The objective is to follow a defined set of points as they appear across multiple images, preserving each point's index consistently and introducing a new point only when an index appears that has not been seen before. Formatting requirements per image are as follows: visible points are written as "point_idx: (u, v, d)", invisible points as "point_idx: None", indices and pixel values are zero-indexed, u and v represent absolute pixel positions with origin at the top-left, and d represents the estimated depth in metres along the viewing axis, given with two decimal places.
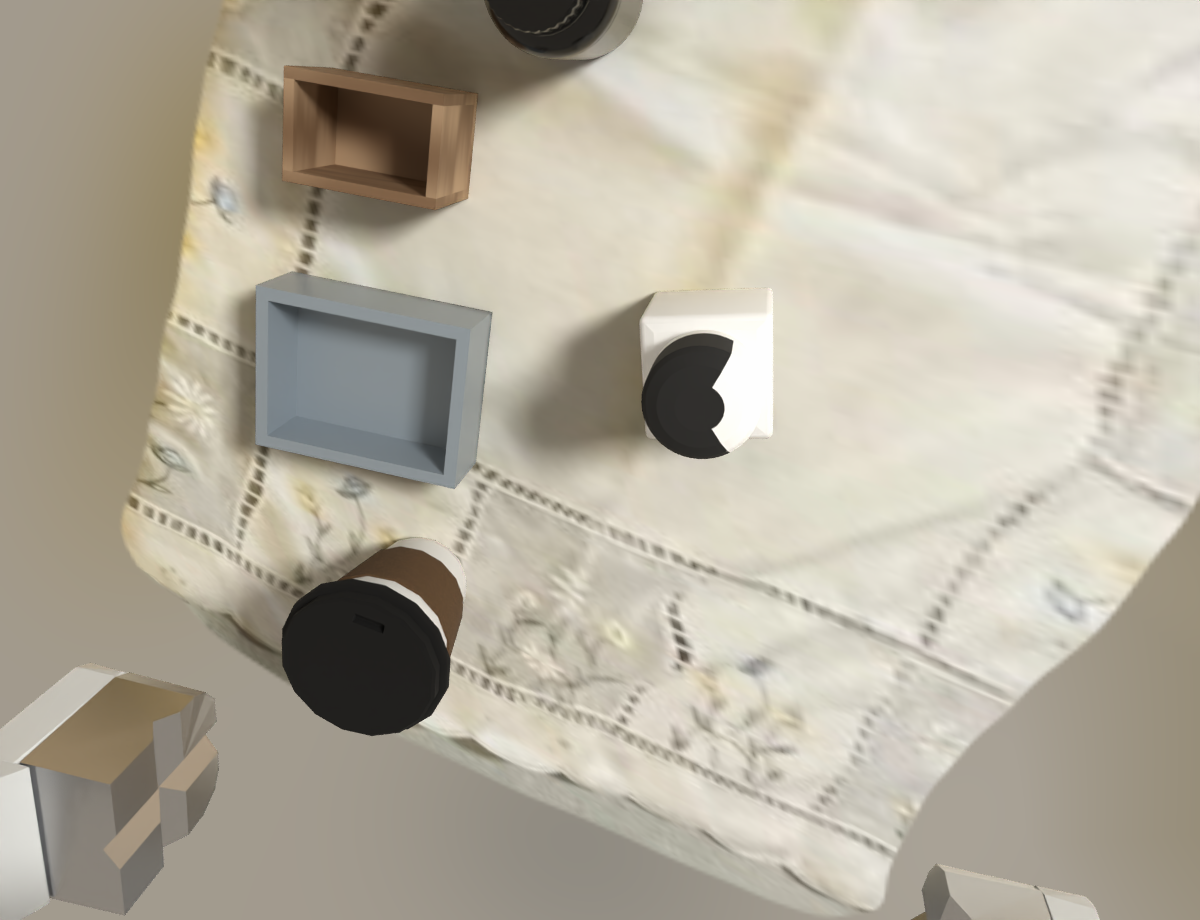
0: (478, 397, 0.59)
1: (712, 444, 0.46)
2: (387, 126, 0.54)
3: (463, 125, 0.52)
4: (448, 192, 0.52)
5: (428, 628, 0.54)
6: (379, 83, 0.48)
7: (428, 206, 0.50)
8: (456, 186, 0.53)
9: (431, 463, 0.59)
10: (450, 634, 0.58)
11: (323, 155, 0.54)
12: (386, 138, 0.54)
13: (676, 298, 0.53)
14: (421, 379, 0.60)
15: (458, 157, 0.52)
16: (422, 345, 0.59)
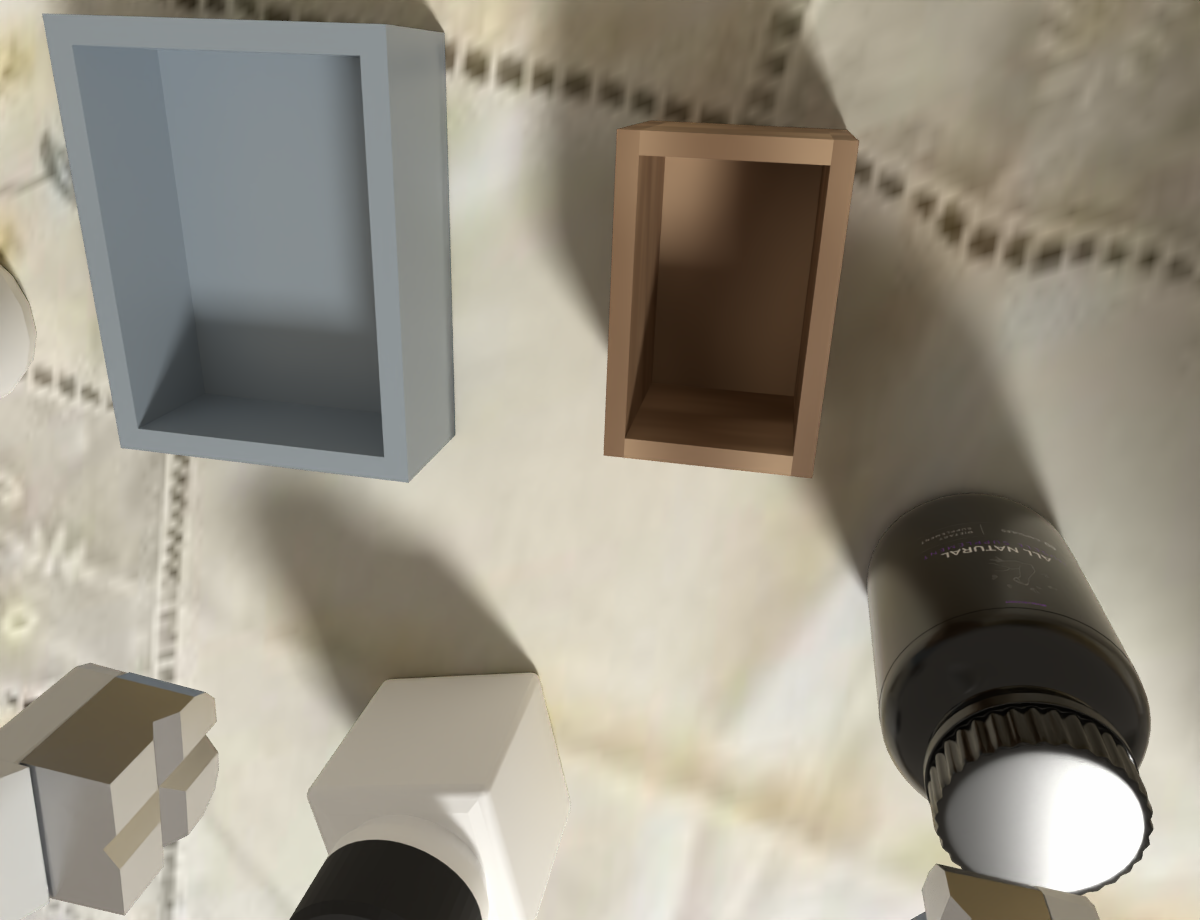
0: None
1: None
2: (743, 252, 0.29)
3: None
4: None
5: None
6: (827, 353, 0.24)
7: (608, 443, 0.26)
8: None
9: (155, 383, 0.32)
10: None
11: None
12: (723, 251, 0.29)
13: (531, 741, 0.35)
14: (307, 319, 0.33)
15: None
16: (366, 320, 0.32)
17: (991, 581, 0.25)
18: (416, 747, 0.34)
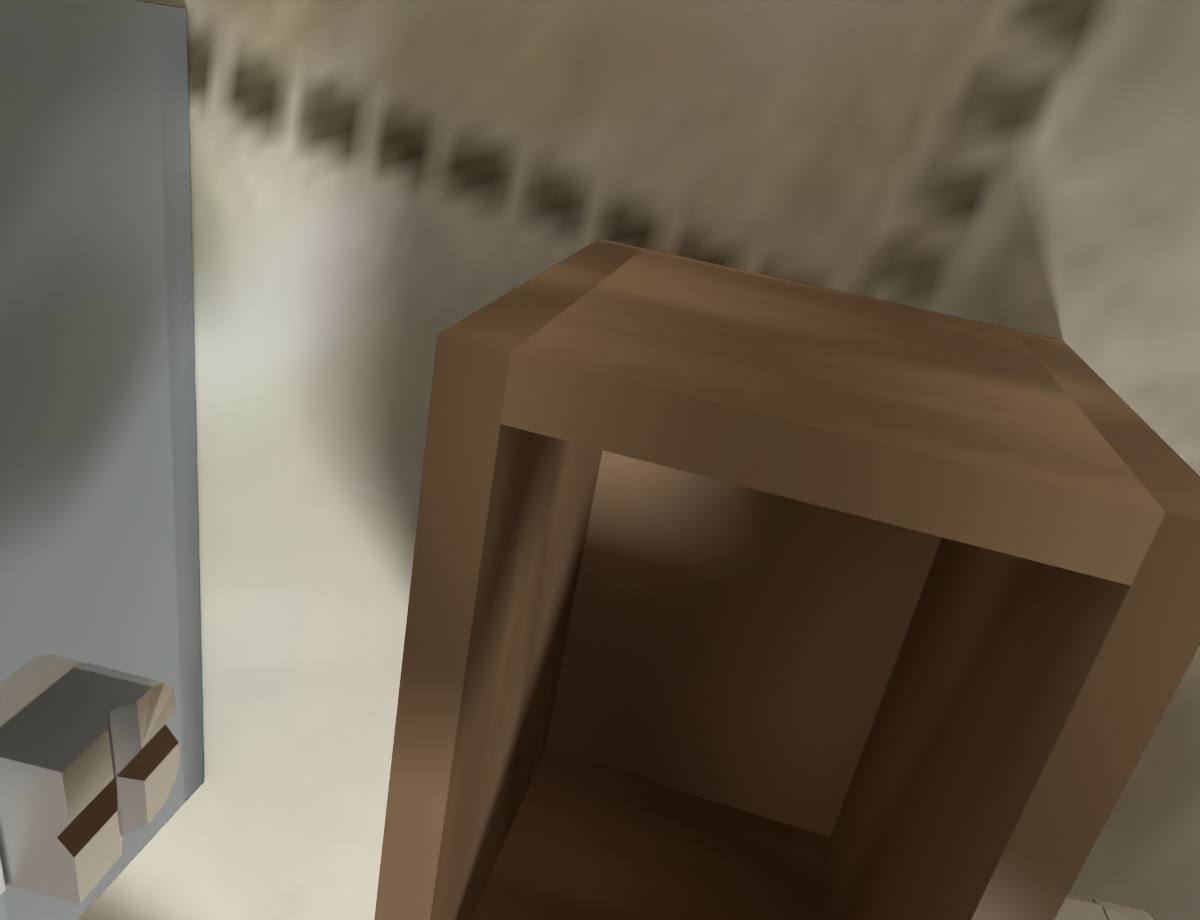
0: None
1: None
2: (772, 553, 0.13)
3: None
4: None
5: None
6: None
7: None
8: None
9: None
10: None
11: None
12: (727, 541, 0.13)
13: None
14: None
15: None
16: None
17: None
18: None
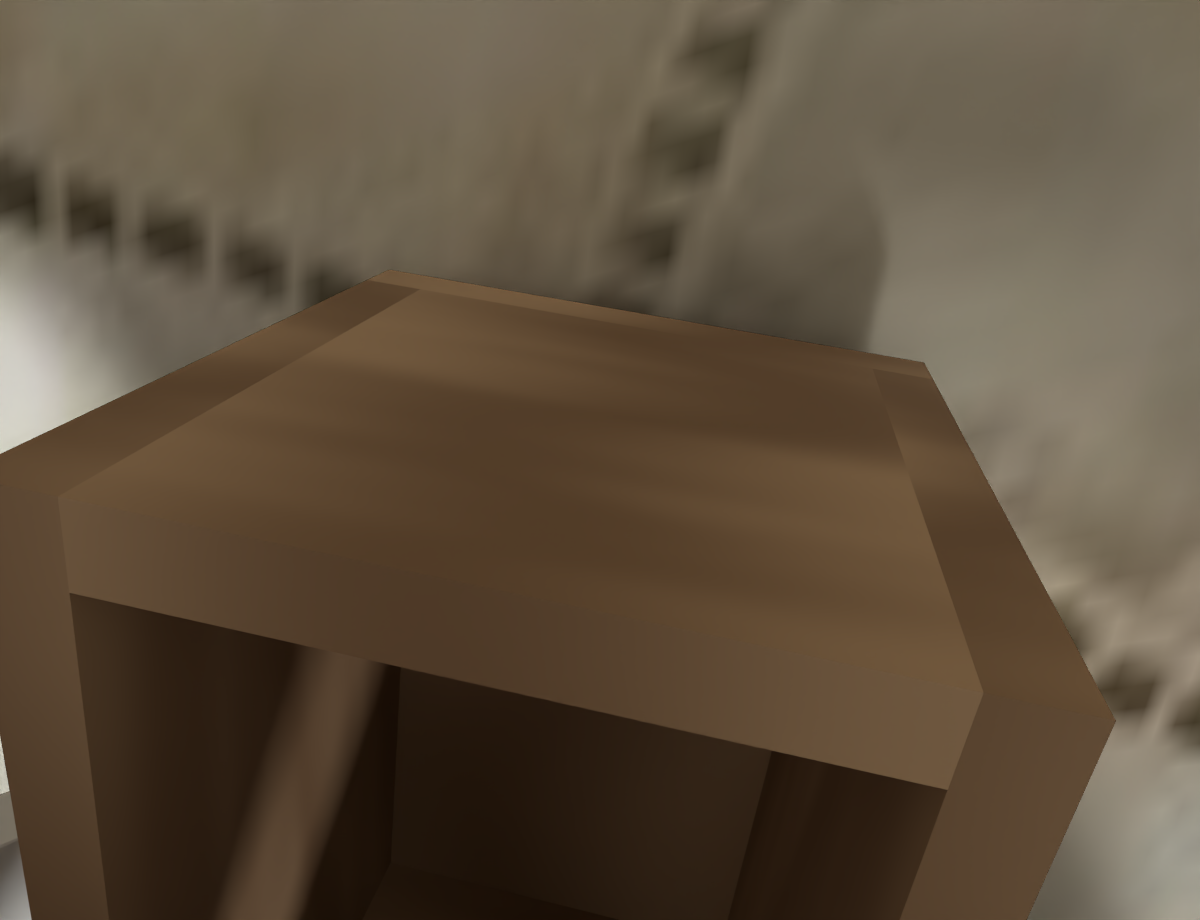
0: None
1: None
2: None
3: None
4: None
5: None
6: None
7: None
8: None
9: None
10: None
11: None
12: None
13: None
14: None
15: None
16: None
17: None
18: None
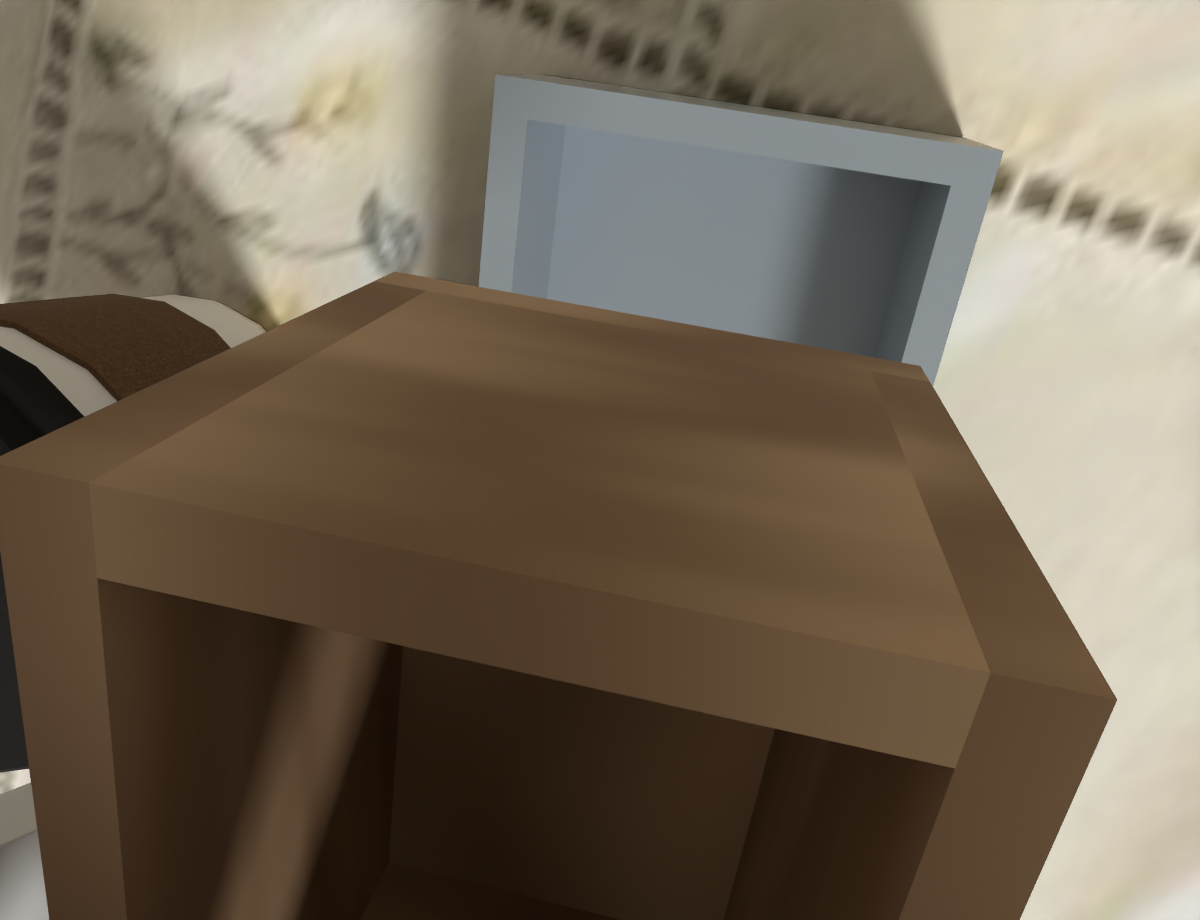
0: None
1: None
2: None
3: None
4: None
5: None
6: None
7: None
8: None
9: None
10: None
11: None
12: None
13: None
14: None
15: None
16: None
17: None
18: None
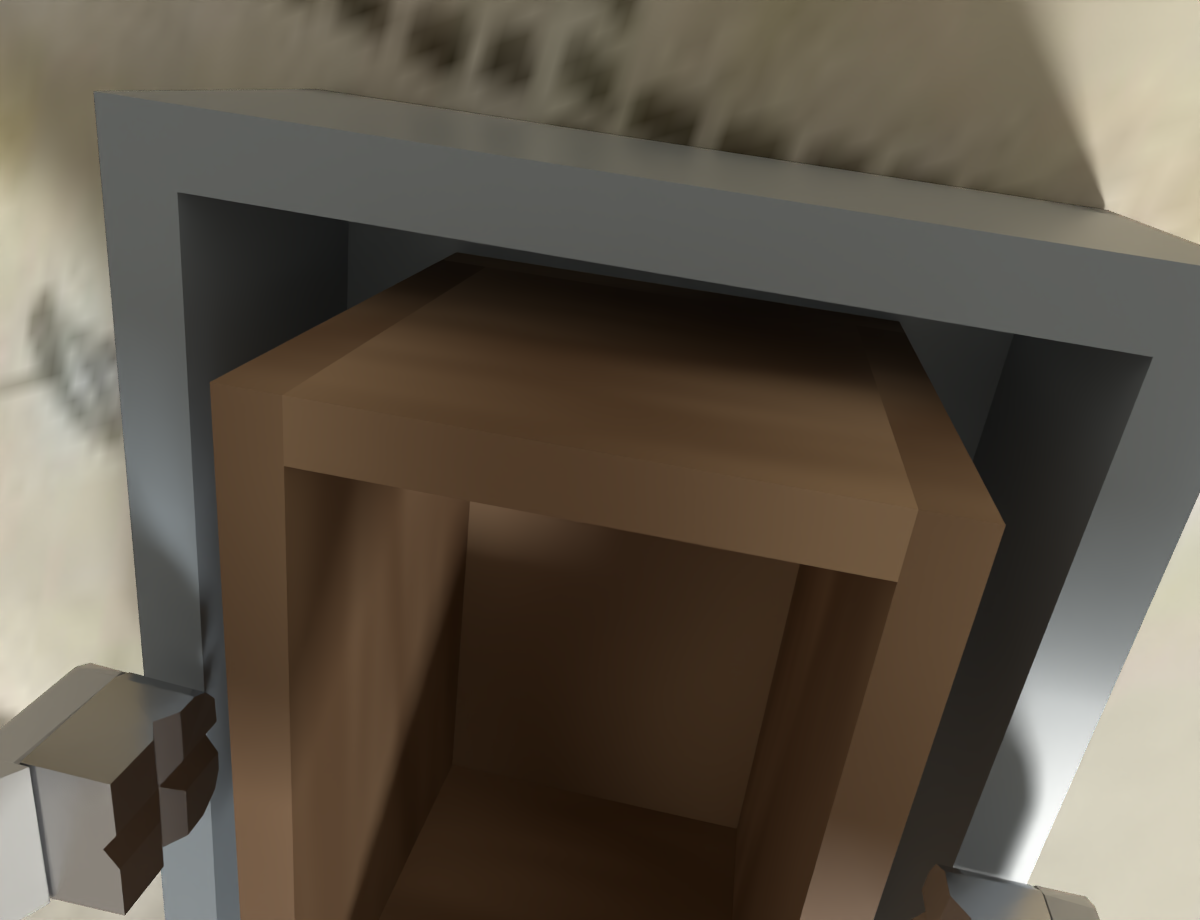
0: None
1: None
2: (648, 555, 0.13)
3: None
4: None
5: None
6: None
7: None
8: None
9: None
10: None
11: None
12: (603, 547, 0.13)
13: None
14: None
15: None
16: None
17: None
18: None
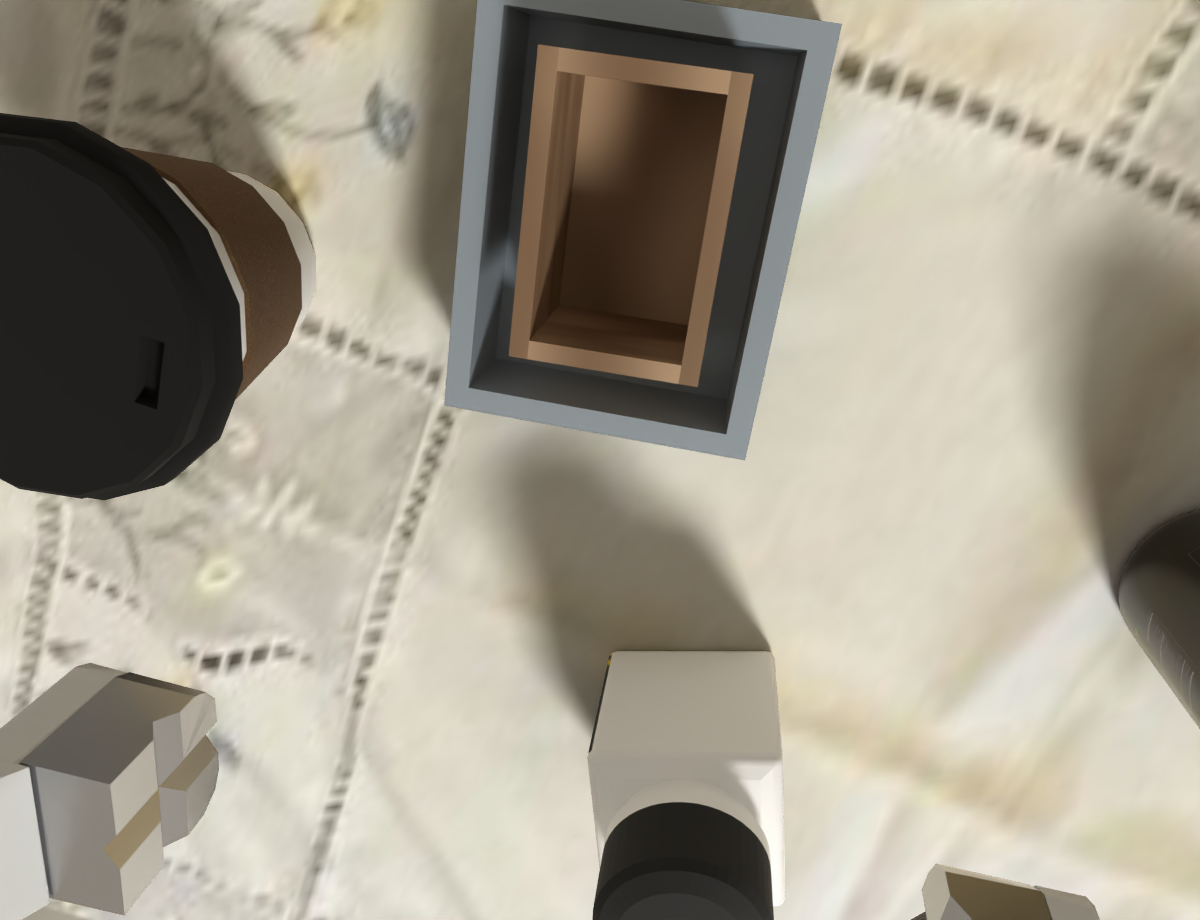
0: None
1: None
2: (650, 185, 0.31)
3: None
4: None
5: (173, 472, 0.27)
6: (716, 270, 0.27)
7: (513, 344, 0.28)
8: None
9: (480, 344, 0.32)
10: None
11: None
12: (631, 182, 0.31)
13: None
14: None
15: None
16: None
17: None
18: (685, 716, 0.35)
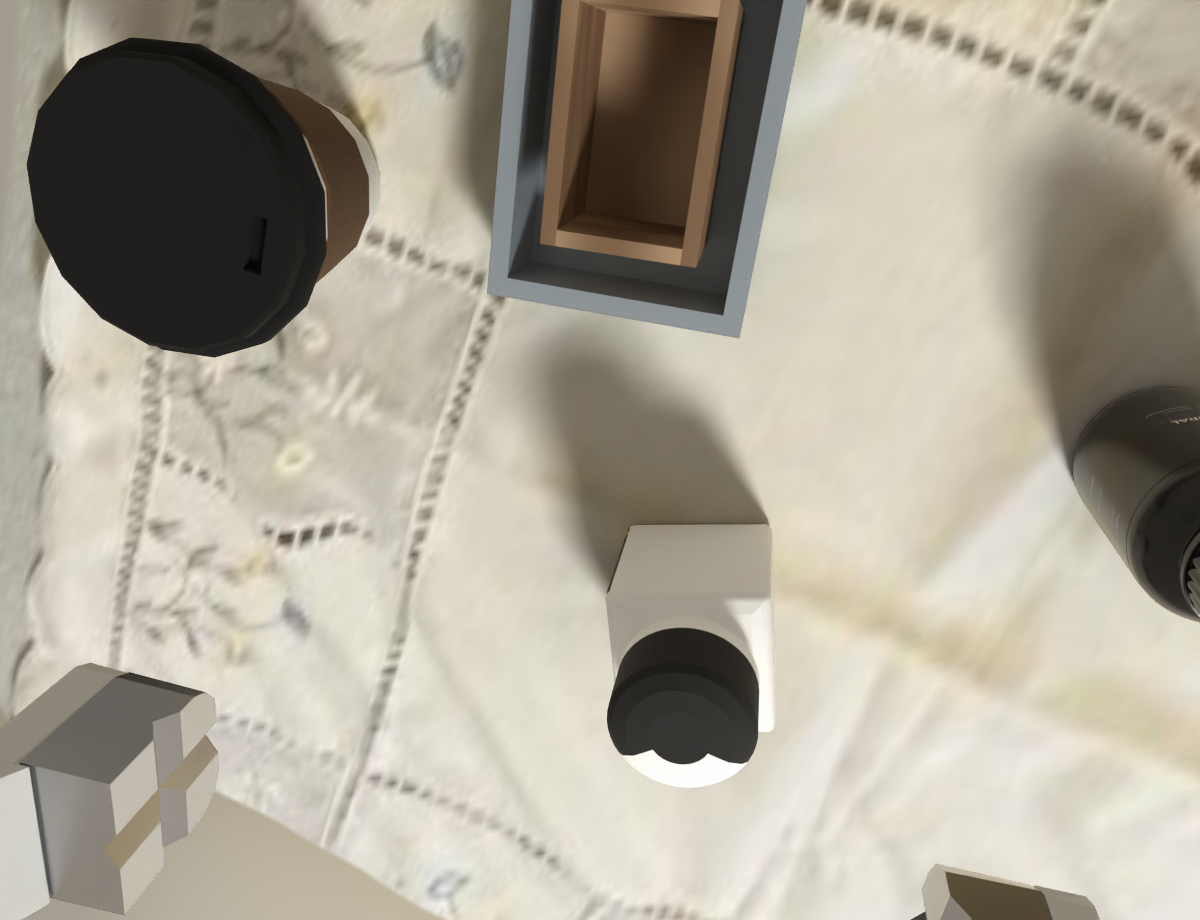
0: None
1: (632, 747, 0.36)
2: (661, 106, 0.37)
3: None
4: None
5: (270, 332, 0.33)
6: (710, 166, 0.32)
7: (543, 233, 0.34)
8: None
9: (517, 242, 0.38)
10: None
11: (614, 10, 0.35)
12: (645, 103, 0.37)
13: (772, 576, 0.43)
14: None
15: None
16: None
17: None
18: (690, 568, 0.41)
